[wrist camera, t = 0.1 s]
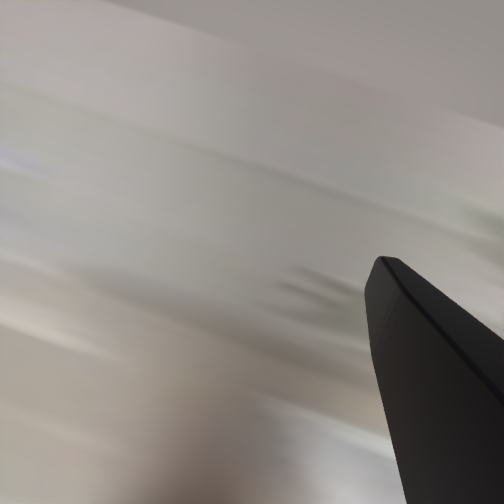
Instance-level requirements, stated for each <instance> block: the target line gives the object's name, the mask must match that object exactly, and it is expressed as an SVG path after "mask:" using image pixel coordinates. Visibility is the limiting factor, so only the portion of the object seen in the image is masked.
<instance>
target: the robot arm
mask: <svg viewBox="0 0 504 504" xmlns="http://www.w3.org/2000/svg"><path fill="white" fill-rule="evenodd" d="M364 295H365V305H366V314H367V322H368V331H369V340H370V348H371V355H372V360H373V365H374V369H375V374H376V378H377V382H378V386H379V390H380V394H381V399H382V403H383V407H384V411H385V415H386V419H387V424H388V428H389V432H390V436H391V440H392V444H393V449H394V453H395V457H396V461H397V465H398V469H399V474H400V478H401V482H402V486H403V490H404V494H405V499H406V503H407V504H504V340H503V339H502V338H501V337H499V336H498V335H497V334H496V333H494V332H493V331H492V330H490V329H489V328H488V327H486V326H485V325H484V324H483V323H481V322H480V321H479V320H477V319H476V318H475V317H473V316H472V315H471V314H470V313H468V312H467V311H466V310H464V309H463V308H462V307H460V306H459V305H458V304H457V303H455V302H454V301H453V300H451V299H450V298H449V297H448V296H446V295H445V294H444V293H442V292H441V291H440V290H438V289H437V288H436V287H435V286H433V285H432V284H431V283H429V282H428V281H427V280H426V279H424V278H423V277H422V276H420V275H419V274H418V273H416V272H415V271H414V270H413V269H411V268H410V267H409V266H407V265H406V264H405V263H403V262H402V261H401V260H400V259H398V258H395V257H387V256H379V257H378V258H377V259H376V260H375V262H374V265H373V268H372V270H371V273H370V275H369V278H368V281H367V283H366V286H365V293H364Z"/></svg>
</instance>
